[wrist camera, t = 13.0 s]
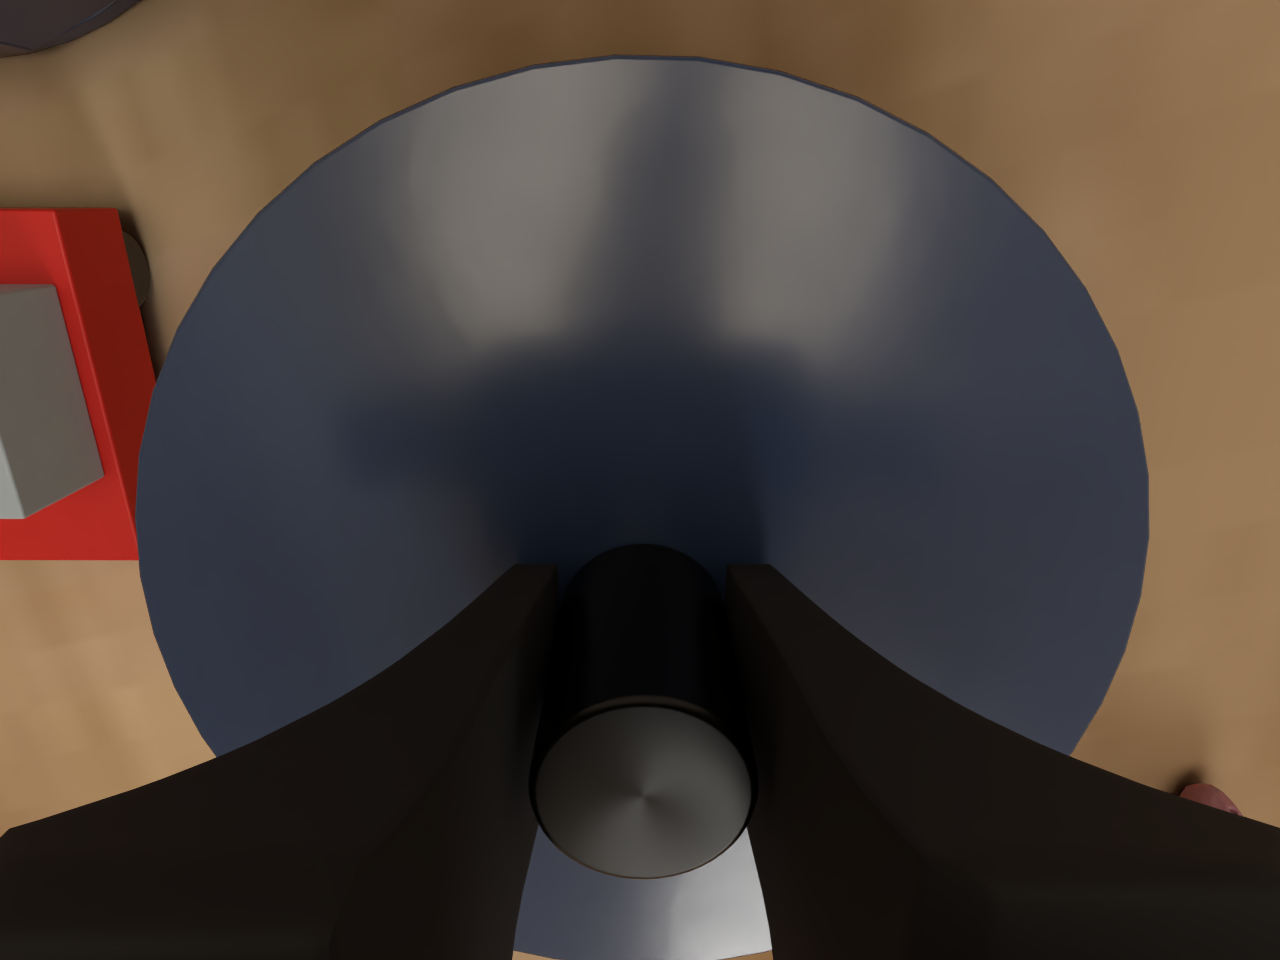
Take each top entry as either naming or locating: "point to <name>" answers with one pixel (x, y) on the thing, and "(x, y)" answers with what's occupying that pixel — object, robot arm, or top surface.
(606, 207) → the lid
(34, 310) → the toy car
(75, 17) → the pot
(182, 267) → the top surface
